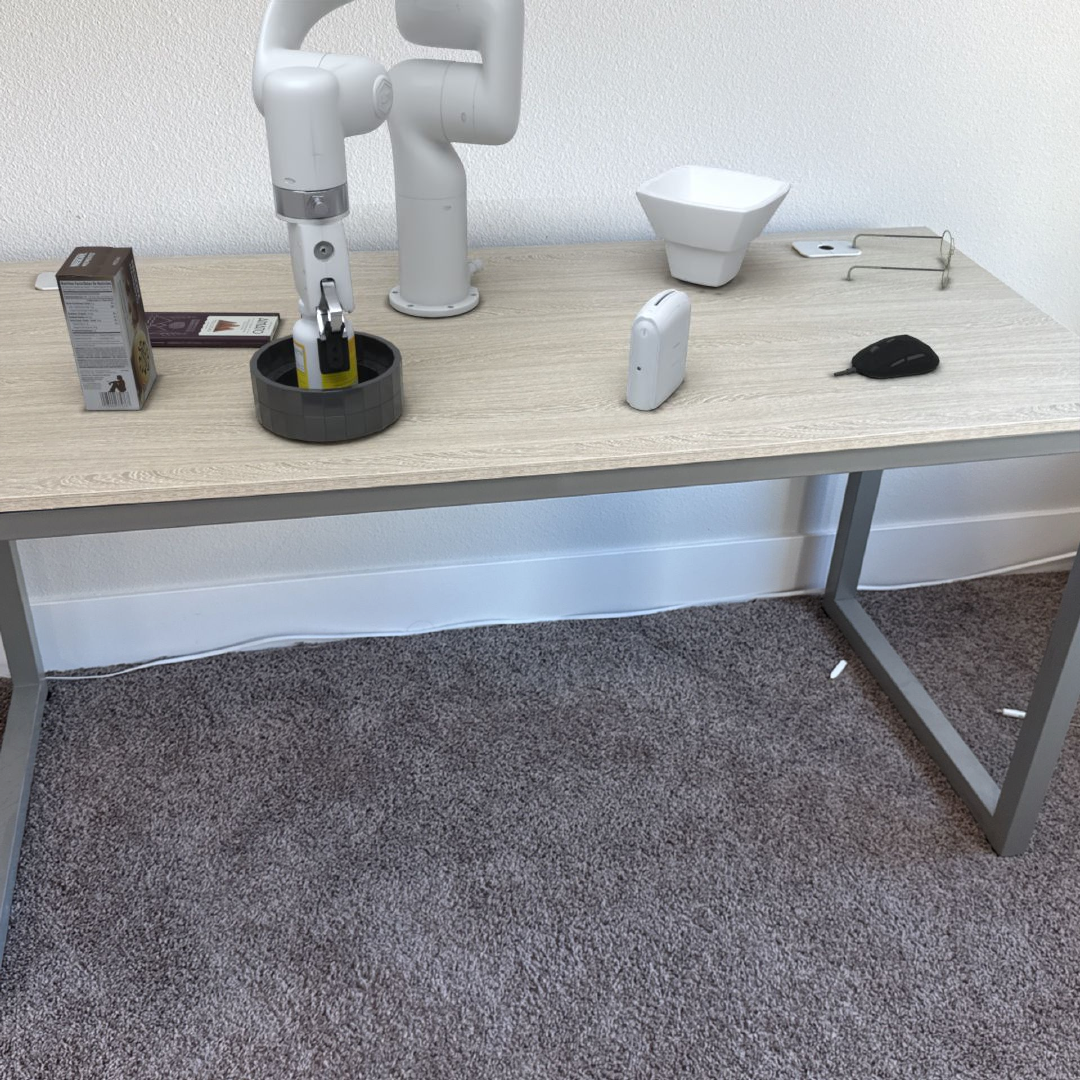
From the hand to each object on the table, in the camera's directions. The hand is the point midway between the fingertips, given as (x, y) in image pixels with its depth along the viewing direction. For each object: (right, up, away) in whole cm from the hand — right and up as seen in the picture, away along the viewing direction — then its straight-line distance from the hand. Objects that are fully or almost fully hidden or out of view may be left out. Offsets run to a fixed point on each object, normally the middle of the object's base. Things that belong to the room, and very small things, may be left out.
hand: (326, 353), depth 121 cm
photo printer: (+38, -3, +10) cm, 39 cm away
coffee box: (-25, -4, +6) cm, 26 cm away
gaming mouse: (+67, +1, +17) cm, 70 cm away
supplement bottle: (0, -6, +4) cm, 7 cm away
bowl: (+48, +18, +42) cm, 67 cm away
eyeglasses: (+79, +21, +48) cm, 95 cm away
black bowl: (0, -6, +4) cm, 7 cm away
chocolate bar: (-20, +6, +21) cm, 30 cm away
